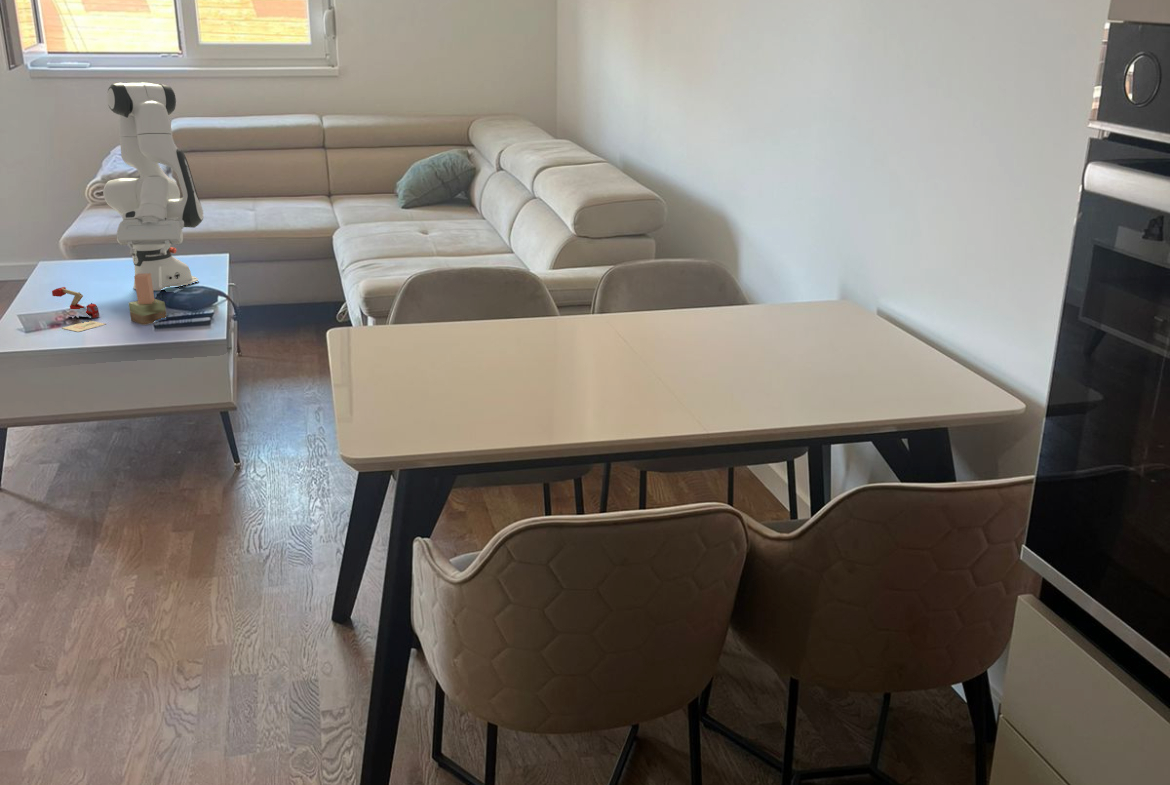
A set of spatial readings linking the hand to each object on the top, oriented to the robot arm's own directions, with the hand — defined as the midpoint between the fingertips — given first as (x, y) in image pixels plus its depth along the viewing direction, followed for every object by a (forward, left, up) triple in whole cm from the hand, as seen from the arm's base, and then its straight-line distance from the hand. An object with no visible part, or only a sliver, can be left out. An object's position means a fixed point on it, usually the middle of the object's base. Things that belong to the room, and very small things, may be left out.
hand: (148, 254), depth 345 cm
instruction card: (+22, -4, -20) cm, 30 cm away
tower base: (+5, +5, -20) cm, 21 cm away
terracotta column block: (+5, +5, -14) cm, 16 cm away
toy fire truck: (+18, -16, -20) cm, 32 cm away
